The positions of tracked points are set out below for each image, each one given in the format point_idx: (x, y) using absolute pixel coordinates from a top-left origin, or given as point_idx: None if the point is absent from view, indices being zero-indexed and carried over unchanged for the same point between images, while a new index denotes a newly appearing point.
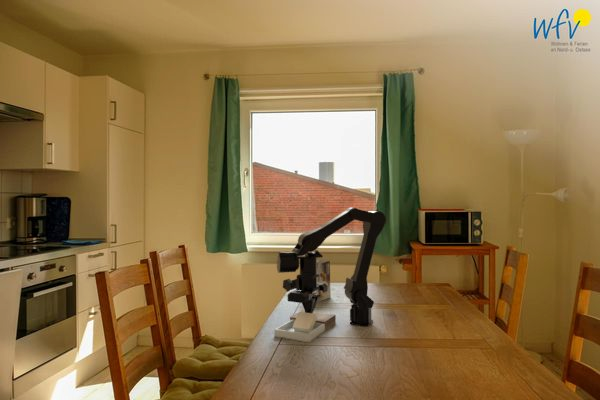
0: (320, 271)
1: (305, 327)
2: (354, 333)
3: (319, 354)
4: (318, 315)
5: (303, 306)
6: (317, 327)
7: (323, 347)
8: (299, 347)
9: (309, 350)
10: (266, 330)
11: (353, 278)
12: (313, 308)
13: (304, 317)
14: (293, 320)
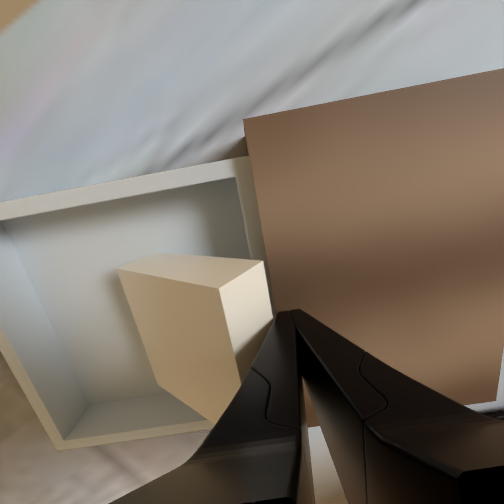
0: None
1: (154, 362)
2: (332, 483)
3: (27, 497)
4: (426, 314)
5: (238, 393)
6: (199, 421)
7: (96, 475)
8: (10, 409)
9: (23, 455)
10: (28, 38)
11: None
12: (328, 441)
13: (195, 355)
14: (235, 177)
